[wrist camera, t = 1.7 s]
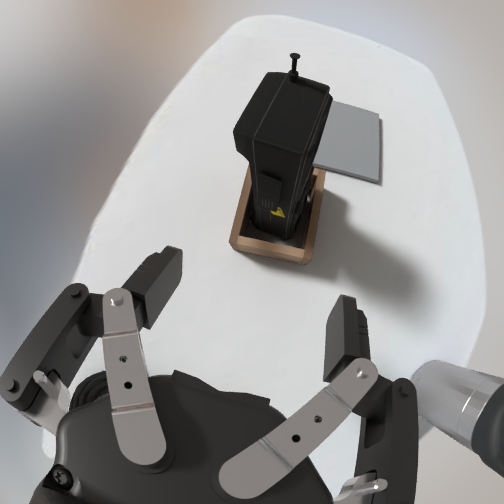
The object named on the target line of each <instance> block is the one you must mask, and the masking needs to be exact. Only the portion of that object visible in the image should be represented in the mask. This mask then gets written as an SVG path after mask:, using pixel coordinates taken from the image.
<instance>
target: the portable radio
mask: <svg viewBox="0 0 504 504" xmlns="http://www.w3.org/2000/svg"><path fill="white" fill-rule="evenodd" d="M290 57H291V58H292V70H290V71H289V72H288V73H282V72H268V73H267V74H266V75H265V77H264V78H263V80H262V82H261V83H260V85H259V86H258V88H257V90H256V91H255V93H254V95H253V96H252V98H251V100H250V101H249V103H248V105H247V106H246V108H245V110H244V111H243V113H242V115H241V117H240V118H239V120H238V122H237V124H236V125H235V128H234V130H233V135H234V140H235V145H236V150H237V151H238V152H239V153H240V154H242V155H243V156H244V157H245V158H246V159H247V160H248V161H249V166H250V174H251V182H252V190H253V198H254V207H255V208H254V210H253V213H252V215H251V217H250V220H251V224H252V225H253V226H255V227H256V228H257V229H259V230H261V231H263V232H266V233H268V234H271V235H274V236H276V237H279V238H282V239H284V240H288V239H289V238H293V236H294V233H295V231H296V228H297V226H298V223H299V221H300V218H301V215H302V213H303V210H304V207H305V204H306V202H307V195H308V191H309V188H311V185H312V183H311V182H312V175H313V171H314V166H313V162H314V159H315V156H316V154H317V151H318V148H319V144H320V141H321V138H322V135H323V131H324V128H325V125H326V121H327V118H328V114H329V111H330V108H331V104H332V101H333V98H332V96H331V95H330V94H329V90H330V87H329V86H328V85H325V84H322V83H319V82H316V81H313V80H310V79H307V78H303V77H300V76H298V72H297V71H296V66H297V59H299V58H300V55H299V54H297V53H291V54H290Z"/></svg>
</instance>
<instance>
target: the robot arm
mask: <svg viewBox="0 0 504 504" xmlns="http://www.w3.org/2000/svg"><path fill="white" fill-rule="evenodd" d="M182 255H183V253H182V250H181V249H178V248H175V247H172V246H166V247H165V249H164V250H163V251H162V252H161V253H157V252H156V253H154V254H152V255H150V256H148V257H147V258H146V259H145V260H144V261H143V262H142V265H140V266H139V267H138V268H137V270H136V271H135V272H134V273H133V274H132V275H131V276H130V278H129V279H128V280H127V281H126V282H125V283H124V285H123V286H122V287H121V288H114V289H111V290H109V291H108V292H106V293H105V295H103V294H94V293H89V291H88V288H87V287H86V286H85V285H84V284H81V283H74V284H71V285H69V286H68V287H66V288H65V289H64V291H63V292H62V293H61V294H60V295H59V297H58V298H57V299H56V300H55V302H54V303H53V304H52V305H51V306H50V308H49V309H48V310H47V311H46V313H45V314H44V315H43V317H42V318H41V319H40V320H39V322H38V323H37V325H36V326H35V327H34V328H33V330H32V331H31V333H30V334H29V335H28V336H27V338H26V339H25V341H24V342H23V344H22V345H21V347H20V348H19V349H18V351H17V352H16V354H15V355H14V357H13V358H12V360H11V361H10V363H9V364H8V366H7V368H6V369H5V371H4V372H3V374H2V376H1V377H0V395H1V396H2V398H3V399H4V400H6V401H7V402H8V403H9V404H10V405H11V406H12V407H13V408H14V409H15V410H16V411H17V412H19V413H20V414H21V415H22V416H24V417H25V418H26V419H28V420H30V421H31V422H33V423H34V424H36V425H37V426H41V427H44V428H45V429H46V430H48V431H49V432H51V433H52V434H54V435H55V436H56V456H55V461H54V464H53V467H52V468H51V470H50V471H49V473H48V474H47V475H46V477H44V479H43V480H42V481H41V482H40V483H39V485H38V486H37V488H36V489H35V491H34V494H33V496H32V498H31V500H30V503H29V504H414V500H415V492H416V482H417V469H418V468H417V467H418V415H419V416H421V417H422V418H423V419H425V420H426V421H428V422H429V423H431V424H432V425H434V426H435V427H437V428H438V429H440V430H441V431H442V432H444V433H445V434H447V435H448V436H450V437H451V438H453V439H454V440H456V441H457V442H459V443H460V444H462V445H464V446H465V447H467V448H468V449H470V450H471V451H473V452H475V453H476V454H478V455H479V456H480V458H481V460H482V461H483V462H484V463H485V464H486V465H487V466H488V467H490V468H491V469H493V470H494V471H495V472H497V473H498V474H499V475H501V476H502V477H504V378H501V377H496V376H493V375H489V374H485V373H481V372H477V371H474V370H470V369H467V368H463V367H460V366H456V365H453V364H450V363H446V362H443V361H440V360H433V361H430V362H428V363H426V364H424V365H423V366H421V367H420V368H419V369H418V370H417V371H416V373H415V374H414V375H413V377H412V379H411V381H410V380H408V379H406V378H398V379H397V380H395V381H394V382H392V381H390V380H388V379H386V378H384V377H382V376H380V375H379V374H378V370H377V368H376V366H375V365H374V363H372V362H371V359H370V346H369V336H368V329H367V328H368V326H367V318H366V317H365V315H364V313H363V311H362V310H358V309H357V304H356V298H353V297H350V296H346V295H342V294H341V295H340V296H339V298H338V300H337V302H336V304H335V305H334V307H333V309H332V311H331V313H330V315H329V317H328V320H327V324H326V342H325V360H324V375H323V381H324V382H329V383H330V384H329V385H328V386H327V387H325V388H323V389H322V390H321V391H320V392H319V393H318V394H317V395H315V396H314V397H313V398H312V399H311V400H310V401H309V402H307V403H306V404H305V405H304V406H303V407H302V408H300V409H299V410H298V411H297V412H296V413H294V414H293V415H292V416H291V417H289V418H288V419H287V418H286V417H285V416H284V415H283V414H282V413H281V412H279V411H278V410H277V409H275V408H274V407H272V406H270V405H269V403H270V399H269V398H265V397H261V396H257V395H253V394H249V393H239V392H223V391H219V390H217V389H215V388H213V387H212V386H210V385H208V384H207V383H205V382H203V381H202V380H200V379H199V378H197V377H194V376H191V375H188V374H185V373H183V372H180V371H177V370H174V372H173V374H172V375H156V376H151V377H149V373H148V370H147V366H146V362H145V357H144V353H143V348H142V343H141V338H140V333H139V332H140V330H141V329H142V327H144V328H147V329H149V330H150V329H151V327H152V326H153V324H154V322H155V321H156V319H157V318H158V316H159V314H160V313H161V311H162V310H163V308H164V307H165V305H166V303H167V302H168V300H169V299H170V297H171V296H172V294H173V293H174V291H175V289H176V288H177V286H178V285H179V283H180V280H181V277H182ZM98 337H101V338H102V341H103V351H104V360H105V368H106V375H107V382H108V388H109V394H110V395H107V396H105V397H103V398H100V399H98V400H95V401H93V402H90V403H88V404H85V405H83V406H80V407H78V408H75V409H73V410H71V411H69V412H68V407H69V403H70V392H69V390H68V388H69V386H70V384H71V382H72V380H73V379H74V377H75V375H76V373H77V372H78V370H79V368H80V366H81V365H82V363H83V361H84V360H85V358H86V356H87V355H88V353H89V351H90V350H91V348H92V346H93V345H94V343H95V342H96V340H97V338H98ZM351 412H353V413H355V414H357V415H359V416H361V427H360V437H359V445H358V453H357V460H356V467H355V473H354V478H351V479H349V480H348V481H346V482H345V483H344V485H343V486H342V489H341V491H340V493H339V495H338V496H337V497H336V498H335V499H334V500H333V498H332V495H331V493H330V491H329V490H328V488H327V486H326V485H325V483H324V481H323V480H322V478H321V476H320V475H319V473H318V471H317V470H316V468H315V466H314V465H313V463H312V461H311V460H310V458H309V456H308V455H309V454H310V453H311V452H312V451H313V450H314V449H316V448H317V447H318V446H319V445H320V444H321V443H322V442H323V441H324V440H325V439H326V438H327V437H328V436H329V435H330V434H331V433H332V432H333V431H334V430H335V429H336V428H337V427H338V426H339V425H340V424H341V423H342V422H343V421H344V420H345V419H346V418H347V416H348V415H349V414H350V413H351Z"/></svg>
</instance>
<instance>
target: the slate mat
mask: <svg viewBox="0 0 504 504" xmlns="http://www.w3.org/2000/svg"><path fill="white" fill-rule="evenodd" d="M313 166H314V167H318V168H322V169H326V170H330V171H334V172H338V173H342V174H346V175H350V176H353V177H357V178H361V179H364V180H368V181H371V182H375V183H377V182H378V180H379V114H377V113H374V112H371V111H368V110H365V109H361V108H358V107H355V106H351V105H347V104H344V103H340V102H336V101H332V104H331V108H330V111H329V114H328V118H327V121H326V125H325V128H324V131H323V135H322V138H321V141H320V144H319V148H318V151H317V154H316V156H315V159H314V162H313Z"/></svg>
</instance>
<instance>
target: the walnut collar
mask: <svg viewBox="0 0 504 504" xmlns="http://www.w3.org/2000/svg"><path fill="white" fill-rule="evenodd" d="M325 173H326V170H321V169H317V168H314V171H313V175H312V182H311V183H312V185H311V188H309V190H312V191H311V197H310V203H309V209H308V214H307V220H306V225H305V231H304V236H303V241H302V246H301V249H299V248H294V247H290V246H285V245H280V244H276V243H271V242H267V241H262V240H257V239H253V238H248V237H244V235H245V231H246V226H247V222H248V218H249V214H250V210H251V206H252V202H253V190H252V182H251V174H250V166H248V169H247V173H246V177H245V180H244V184H243V188H242V192H241V196H240V199H239V203H238V207H237V211H236V215H235V219H234V223H233V227H232V231H231V235H230V239H229V243H230V245H231V246H232V248H233V250H238V251H242V252H247V253H252V254H256V255H261V256H265V257H270V258H275V259H279V260H284V261H288V262H293V263H297V264H302V265H306V264H307V263H308V262H309V261H310V260H311V258H312V253H313V247H314V242H315V236H316V231H317V225H318V219H319V213H320V207H321V201H322V194H323V187H324V180H325Z"/></svg>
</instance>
